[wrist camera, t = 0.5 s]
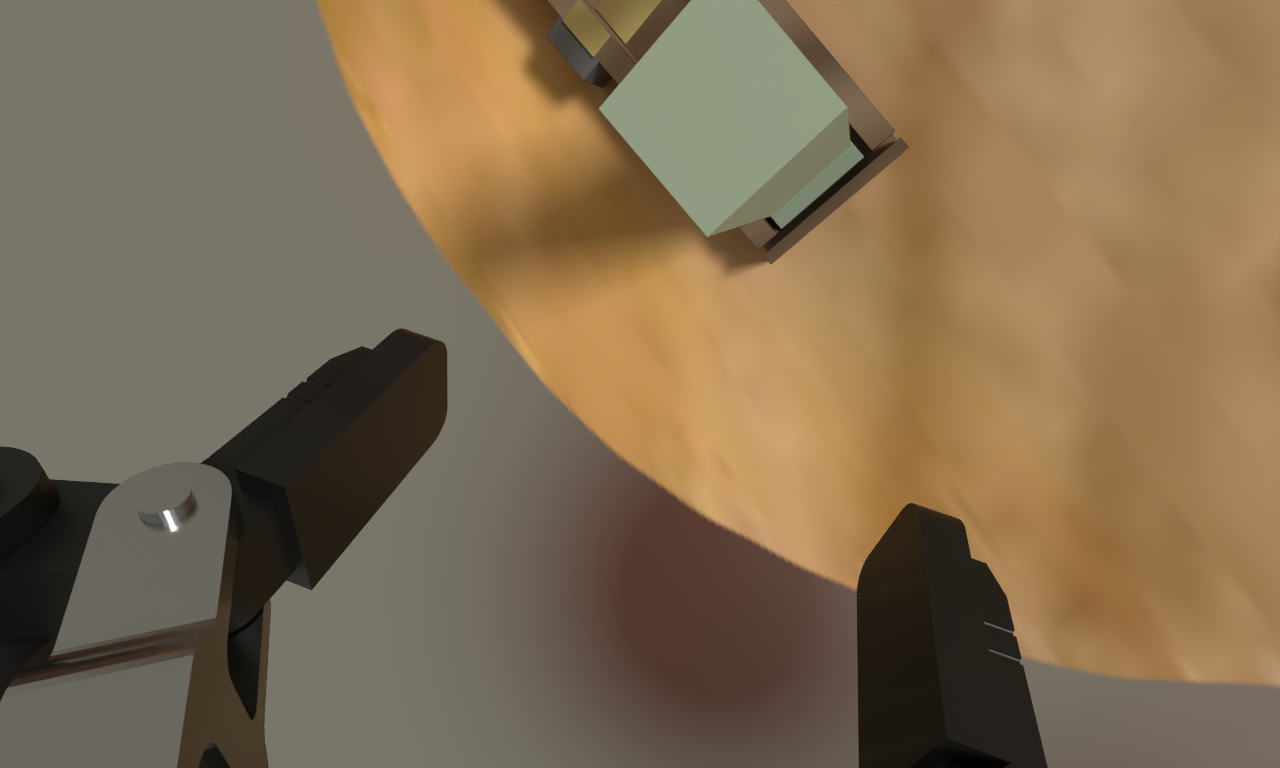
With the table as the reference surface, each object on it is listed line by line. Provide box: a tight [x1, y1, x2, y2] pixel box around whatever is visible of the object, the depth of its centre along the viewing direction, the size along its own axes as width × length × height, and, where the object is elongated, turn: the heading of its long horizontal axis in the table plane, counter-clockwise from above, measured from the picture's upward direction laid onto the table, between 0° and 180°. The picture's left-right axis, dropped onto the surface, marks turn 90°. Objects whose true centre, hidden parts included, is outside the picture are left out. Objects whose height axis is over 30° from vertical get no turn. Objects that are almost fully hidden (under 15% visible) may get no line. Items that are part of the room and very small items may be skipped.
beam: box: [546, 0, 909, 264], centre depth 30 cm, size 24×10×3 cm, turn 43°
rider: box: [599, 0, 864, 237], centre depth 23 cm, size 6×5×17 cm
